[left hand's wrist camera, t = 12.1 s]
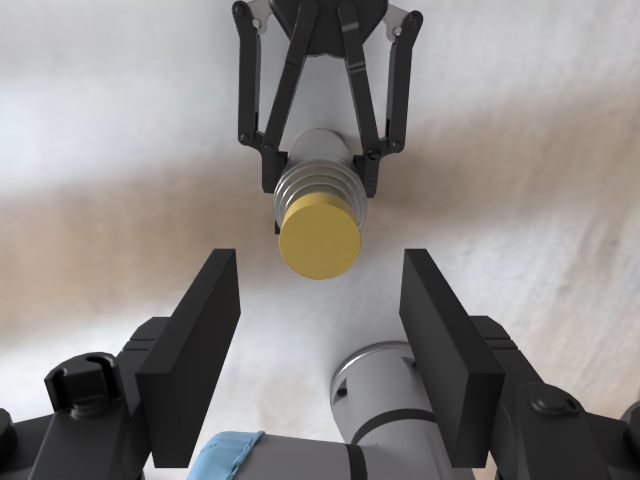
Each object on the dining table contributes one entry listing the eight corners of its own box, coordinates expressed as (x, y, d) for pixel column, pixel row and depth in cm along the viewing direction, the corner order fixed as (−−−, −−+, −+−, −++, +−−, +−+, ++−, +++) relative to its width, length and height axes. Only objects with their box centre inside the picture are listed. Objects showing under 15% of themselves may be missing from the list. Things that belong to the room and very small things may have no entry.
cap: (284, 189, 19) (280, 201, 17) (361, 194, 19) (365, 206, 17) (281, 259, 21) (278, 277, 19) (353, 264, 21) (356, 282, 19)
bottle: (292, 126, 38) (260, 176, 17) (351, 130, 38) (387, 185, 17) (290, 184, 40) (259, 289, 19) (345, 187, 40) (372, 295, 20)
